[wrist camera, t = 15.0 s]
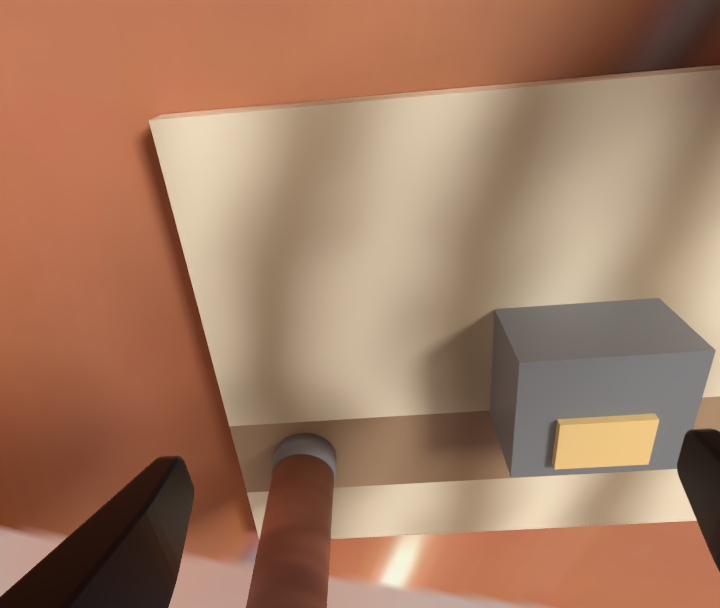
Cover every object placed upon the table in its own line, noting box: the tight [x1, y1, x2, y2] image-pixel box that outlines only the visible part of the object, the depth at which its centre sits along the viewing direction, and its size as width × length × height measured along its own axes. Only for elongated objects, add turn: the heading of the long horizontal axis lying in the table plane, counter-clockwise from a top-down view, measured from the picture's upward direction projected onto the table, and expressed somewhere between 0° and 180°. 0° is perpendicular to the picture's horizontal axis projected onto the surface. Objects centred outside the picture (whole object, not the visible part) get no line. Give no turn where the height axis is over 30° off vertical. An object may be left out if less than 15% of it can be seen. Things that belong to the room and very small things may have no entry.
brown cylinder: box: [246, 433, 336, 608], centre depth 19 cm, size 3×3×8 cm
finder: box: [490, 298, 716, 478], centre depth 19 cm, size 6×5×4 cm
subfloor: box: [149, 65, 720, 539], centre depth 21 cm, size 22×20×1 cm
